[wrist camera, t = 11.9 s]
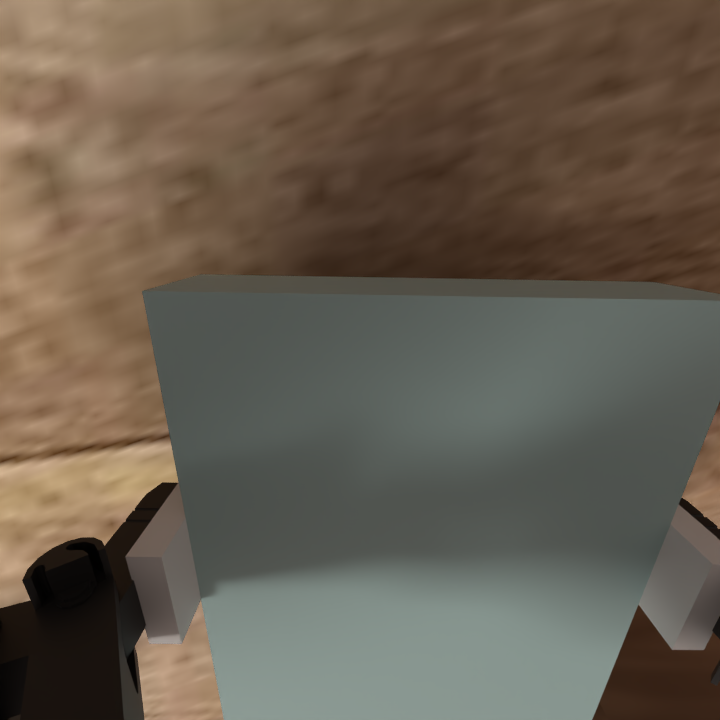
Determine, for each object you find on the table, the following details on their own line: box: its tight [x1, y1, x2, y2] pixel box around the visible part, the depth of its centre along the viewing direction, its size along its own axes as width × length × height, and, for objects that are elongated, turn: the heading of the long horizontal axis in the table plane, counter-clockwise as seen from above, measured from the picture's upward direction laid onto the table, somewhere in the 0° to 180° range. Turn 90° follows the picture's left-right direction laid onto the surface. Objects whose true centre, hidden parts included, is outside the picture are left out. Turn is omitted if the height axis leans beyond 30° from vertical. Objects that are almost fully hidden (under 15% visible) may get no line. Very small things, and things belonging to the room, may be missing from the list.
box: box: [592, 604, 720, 720], centre depth 17 cm, size 12×9×6 cm
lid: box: [142, 274, 720, 720], centre depth 11 cm, size 13×12×4 cm
